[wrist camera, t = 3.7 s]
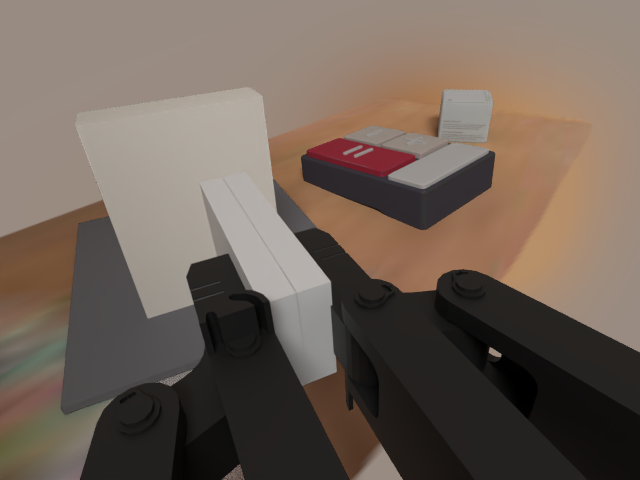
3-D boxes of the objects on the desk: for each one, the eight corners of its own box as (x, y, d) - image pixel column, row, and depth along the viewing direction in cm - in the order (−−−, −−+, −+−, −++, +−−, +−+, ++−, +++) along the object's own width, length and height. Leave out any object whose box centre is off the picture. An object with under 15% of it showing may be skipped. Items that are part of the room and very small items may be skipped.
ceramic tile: (147, 318, 26) (75, 126, 19) (144, 293, 28) (77, 112, 21) (285, 276, 28) (262, 95, 22) (272, 256, 31) (248, 86, 24)
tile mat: (64, 414, 21) (60, 408, 21) (80, 228, 37) (78, 223, 37) (377, 302, 26) (378, 296, 26) (273, 183, 42) (273, 178, 42)
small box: (487, 144, 49) (494, 101, 46) (436, 142, 50) (440, 100, 47) (484, 128, 53) (490, 88, 51) (437, 127, 55) (441, 88, 52)
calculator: (371, 121, 47) (498, 143, 37) (372, 157, 49) (493, 187, 39) (297, 148, 41) (425, 184, 31) (302, 188, 43) (423, 233, 33)
